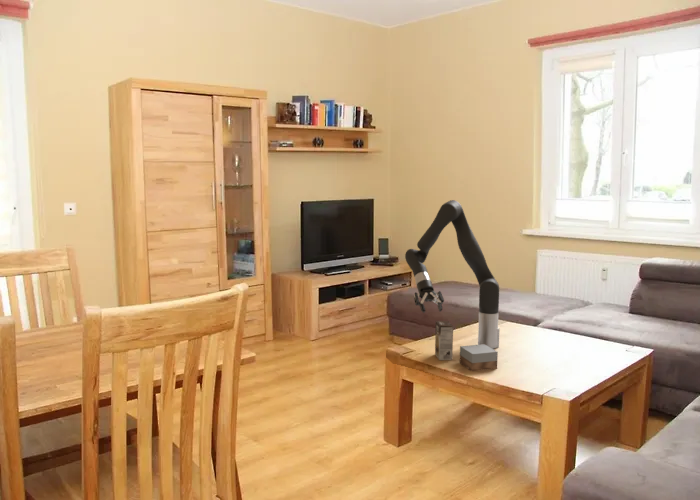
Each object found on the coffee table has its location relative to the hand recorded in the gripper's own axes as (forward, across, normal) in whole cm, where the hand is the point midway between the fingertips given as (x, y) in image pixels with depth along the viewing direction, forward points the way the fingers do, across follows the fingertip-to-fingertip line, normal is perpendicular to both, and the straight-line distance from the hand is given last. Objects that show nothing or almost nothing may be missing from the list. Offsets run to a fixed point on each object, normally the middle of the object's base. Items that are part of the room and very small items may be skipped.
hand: (432, 311), depth 296 cm
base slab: (+34, +10, -7) cm, 36 cm away
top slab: (+31, +10, -10) cm, 34 cm away
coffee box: (+23, 0, +4) cm, 23 cm away
